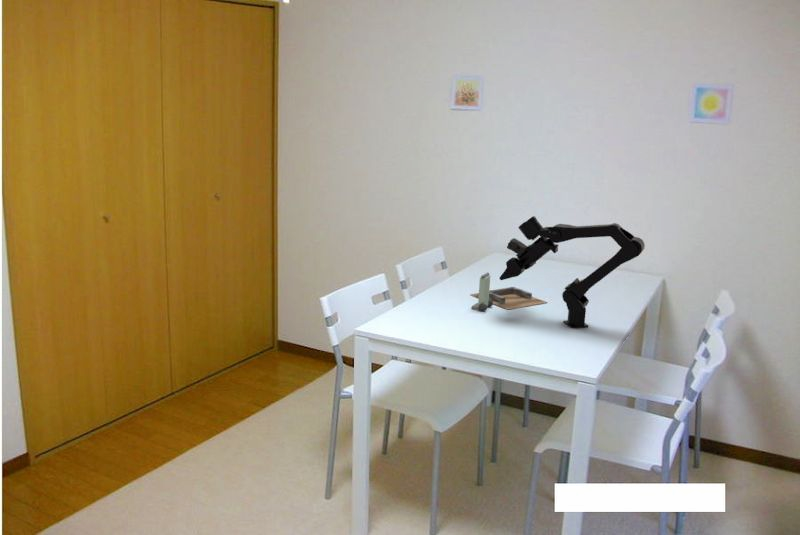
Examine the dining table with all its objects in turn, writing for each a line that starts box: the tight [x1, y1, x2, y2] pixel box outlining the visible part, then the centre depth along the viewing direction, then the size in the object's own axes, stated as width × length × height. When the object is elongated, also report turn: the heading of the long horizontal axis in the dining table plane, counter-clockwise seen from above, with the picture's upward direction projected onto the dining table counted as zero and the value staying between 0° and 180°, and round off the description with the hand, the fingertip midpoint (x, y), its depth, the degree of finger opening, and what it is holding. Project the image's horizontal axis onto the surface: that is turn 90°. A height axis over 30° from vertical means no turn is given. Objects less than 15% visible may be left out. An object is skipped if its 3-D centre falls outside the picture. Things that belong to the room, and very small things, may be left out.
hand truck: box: [471, 272, 494, 313], centre depth 251 cm, size 6×7×13 cm
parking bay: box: [470, 286, 548, 311], centre depth 265 cm, size 22×20×3 cm
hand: (504, 276), depth 246 cm, fingers open, 9 cm apart
